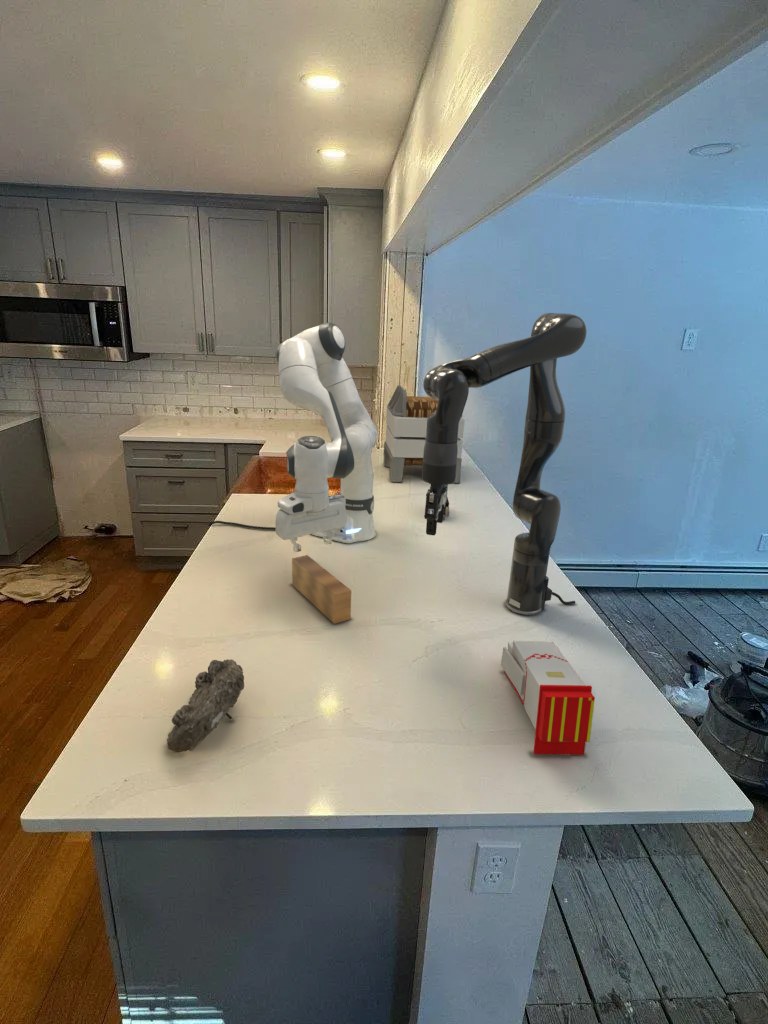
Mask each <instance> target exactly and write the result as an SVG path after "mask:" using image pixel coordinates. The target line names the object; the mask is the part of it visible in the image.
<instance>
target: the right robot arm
mask: <svg viewBox="0 0 768 1024" xmlns="http://www.w3.org/2000/svg"><path fill="white" fill-rule="evenodd" d="M586 325H587V324H586V322H585V321H584V320H583V319H582V317H580V316H579V315H576V314H572V313H564V312H563V313H562V312H561V313H560V312H545V313H542V314H541V315H540V316H538V317H537V319H535V321H534V324H533V325H532V329H531V332H530V333H531V334H530V336H529V337H526V338H522V339H518V340H513V341H509V342H504V343H500V344H497V345H494V346H492V347H489V348H486V349H484V350H481V351H478V352H477V353H475V354H472V355H471V356H469V357H466V358H465V357H464V358H462V359H456V360H452V361H449V362H446V363H443V364H439V365H437V366H435V367H433V368H432V369H430V370H429V371H428V372H427V373H426V375H425V376H424V378H423V381H422V387H423V390H424V392H425V394H426V395H427V397H431V398H433V399H435V400H439V402H438V407H437V410H436V412H434V413H431V414H430V415H429V416H428V419H427V426H426V440H425V446H424V453H423V466H422V467H421V468H422V469H421V479H422V481H423V482H425V483H428V484H429V485H430V486H429V488H428V489H427V491H426V493H425V507H424V508H425V509H424V515H423V518H424V519H425V520H426V525H425V526H426V527H425V534H426V535H427V536H436V534H437V526H438V523H439V524H442V523H443V522H444V520H443V515H444V508H443V507H445V505H446V504H445V502H446V501H447V497H448V491H449V490H448V489H449V485H452V484H454V483H453V482H454V481H455V477H456V466H457V455H458V446H457V441H458V429H459V421H460V419H461V418H462V417H463V414H464V410H465V407H466V404H467V401H468V398H469V392H470V388H473V389H477V388H482V387H484V386H487V385H489V384H492V383H494V382H496V381H498V380H500V379H503V378H505V377H507V376H509V375H512V374H514V373H516V372H519V371H521V370H524V369H526V368H529V384H528V394H527V395H528V396H527V406H526V413H525V420H524V427H523V428H524V429H523V441H522V449H521V457H520V464H519V470H518V473H517V479H516V483H515V488H514V492H513V493H514V494H513V498H512V512H513V514H514V516H515V517H516V518H517V519H519V520H520V521H522V522H524V523H527V524H529V525H530V526H529V531H528V532H522V533H520V534H517V535H516V536H515V537H514V542H513V550H512V558H511V565H510V573H509V579H508V589H507V595H506V599H505V606H506V608H507V609H508V610H509V611H511V612H513V613H515V614H518V615H522V616H535V615H538V614H540V613H541V611H544V610H545V607H546V606H545V605H546V602H547V601H548V602H549V601H551V600H552V596H554V597H555V598H557V599H558V601H559V602H560V603H561V604H563V605H567V606H568V605H573V604H574V605H575V604H576V601H575V600H570V601H565V600H564V599H563V598H562V597H561V596H560V594H558V593H556V592H554V591H553V590H552V589H551V588H550V587H549V581H550V580H549V579H550V578H549V577H548V576H547V575H548V574H547V573H548V567H549V559H550V553H551V548H552V546H553V544H554V542H555V539H556V535H557V530H558V526H559V520H560V517H561V509H562V507H561V500H560V498H559V497H558V496H557V495H556V494H554V493H551V492H548V491H546V490H544V489H541V481H542V475H543V470H544V468H545V466H546V464H547V463H548V461H549V460H550V459H551V457H552V456H553V455H554V454H555V452H556V451H557V449H558V448H559V446H560V444H561V443H562V440H563V435H564V430H565V424H566V423H565V422H566V421H565V420H566V407H565V403H564V399H563V396H562V394H561V391H560V388H559V384H558V380H557V379H558V378H557V363H558V359H560V358H564V357H567V356H568V357H569V356H571V355H574V354H575V353H577V352H578V351H579V350H580V349H581V348H582V347H583V345H584V344H585V341H586V340H587V339H586V338H587V331H588V330H587V326H586ZM461 416H462V417H461ZM431 510H434V514H432V513H431ZM444 516H445V515H444Z"/></svg>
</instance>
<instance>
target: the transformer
mask: <svg viewBox="0 0 768 1024" xmlns="http://www.w3.org/2000/svg"><path fill="white" fill-rule="evenodd" d="M407 394H408V393H407V390H406V389H404V388H403V387H402V385H399V384H398V385H397V386H396V388H395V390H394V392H393V394H392V395H391V398H390V400H389V402H388V404H387V405H386V413H385V414H386V415H385V423H386V428H385V438H384V442H383V466H384V467H388V468H389V475H388V476H389V477H388V478H389V480H390V482H391V483H402V482H403V475H404V469H405V466H406V467H407V466H411V467H412V466H413V467H415V466H416V467H417V466H418V467H423V453H424V446H425V440H426V426H427V419H428V416H429V415H430V414H431V413H434V412H436V410H437V407H438V402H439V400H435V399H433V398H431V397H429V396H415V395H414V396H413V395H412V396H411V395H407ZM464 429H465V419H464V418H463V415H462V416H461V419H460V421H459V429H458V441H457V446H458V455H457V466H456V477H455V481H454V482H453V483H452V484H455V483H456V484H459V483H461V472H462V461H463V460H462V453H463V442H464V441H463V440H462V439H463V438H464V431H465V430H464Z"/></svg>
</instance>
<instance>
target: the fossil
mask: <svg viewBox="0 0 768 1024" xmlns="http://www.w3.org/2000/svg"><path fill="white" fill-rule="evenodd" d="M243 670H244V669H243V667H242V665H240V664H237V662H236V661H235V660H234V659H232V658H231V659H227V658H226V659H224V660H223V661H222V660H217V659H212V660H211V661H210V663H209V665H208V666H207V671H201V672H199V673H198V674H197V675H196V676H195V680H194V684H195V685H194V687H195V689H194V690H193V693H192V694H191V697H190V698H189V700H188V704H184V705H182V706H181V707H180V709H177V710H176V711H175V713H174V715H173V716H172V718H171V723H172V724H173V727H172V730H171V731H170V732H168V734H167V738H166V741H167V742H166V745H167V749H168V750H169V751H173V752H174V753H176V754H178V753H182V752H188V751H189V752H192V751H193V750H195V748H196V747H197V746H199V744H200V743H201V742H203V741H204V740H205V739H206V738H207V737H208V736H209V735H210V734H211V733H212V732H214V730H215V729H217V727H218V726H219V724H220V722H221V721H222V720H223V719H224V718H225V716H226V717H227V719H229V720H233V717H232V715H230V714H229V710H230V709H231V708H234V706H235V704H236V703H237V702H238V699H239V697H240V695H241V693H242V691H243V690H245V689H244V688H245V675H244V671H243Z"/></svg>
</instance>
